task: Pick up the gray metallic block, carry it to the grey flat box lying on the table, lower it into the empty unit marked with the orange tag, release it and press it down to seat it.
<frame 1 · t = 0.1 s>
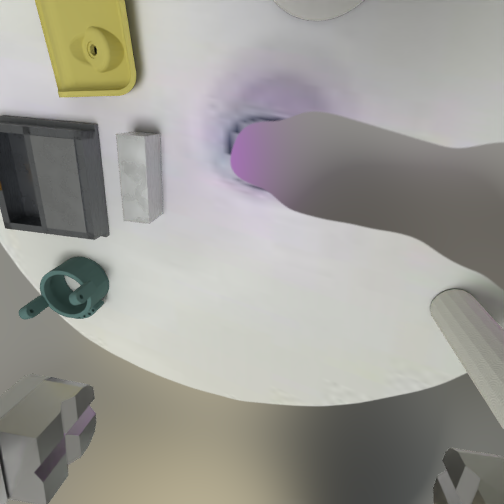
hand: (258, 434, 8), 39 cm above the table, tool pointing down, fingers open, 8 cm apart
plastic component: (93, 8, 39), on the table
grey flat box: (58, 178, 48), on the table
gray metallic block: (150, 174, 46), on the table
paper towel roll: (450, 308, 48), on the table
bracket: (87, 281, 55), on the table
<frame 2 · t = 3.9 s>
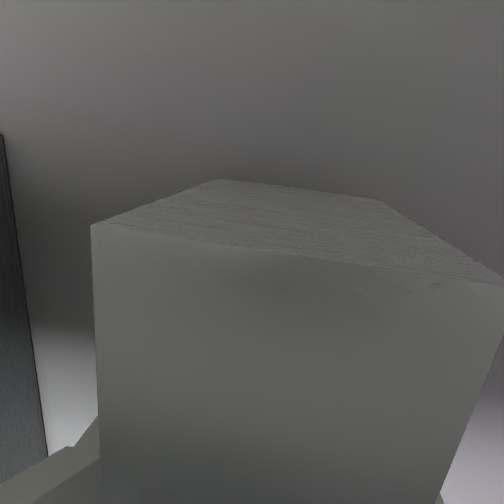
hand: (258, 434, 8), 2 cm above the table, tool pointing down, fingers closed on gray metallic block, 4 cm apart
gray metallic block: (265, 385, 9), on the table, touching gripper
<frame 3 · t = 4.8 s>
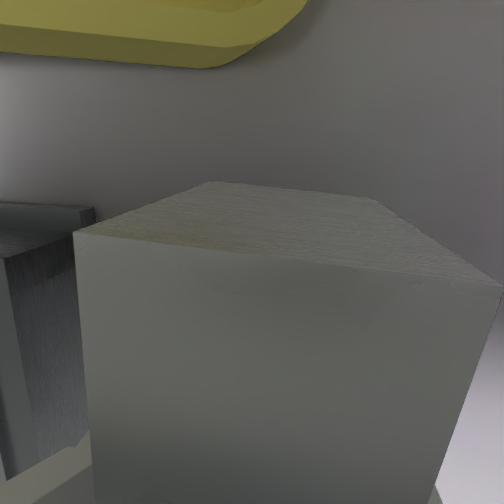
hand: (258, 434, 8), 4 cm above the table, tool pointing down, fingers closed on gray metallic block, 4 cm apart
gray metallic block: (265, 386, 9), point 3 cm above the table, touching gripper
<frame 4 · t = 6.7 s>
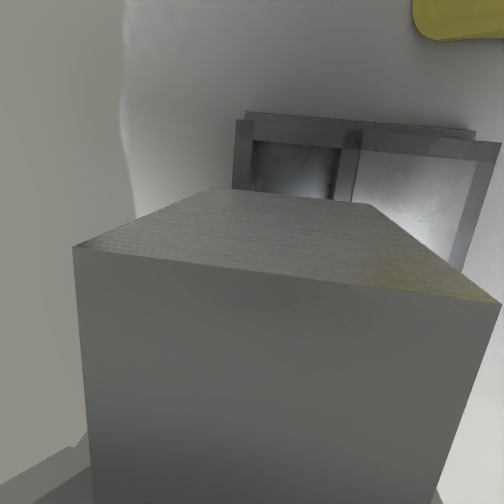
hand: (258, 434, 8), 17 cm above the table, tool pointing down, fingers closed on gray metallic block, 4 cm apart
grey flat box: (334, 240, 24), on the table
gray metallic block: (265, 392, 9), point 16 cm above the table, touching gripper
when the fingers open (4 cm above the table, at t = 9.2 s): gray metallic block drops 2 cm, resting on grey flat box.
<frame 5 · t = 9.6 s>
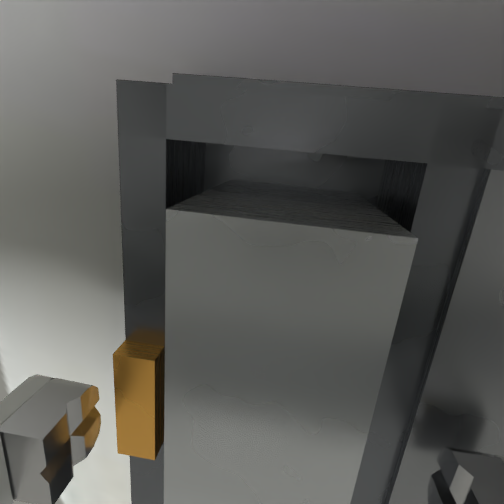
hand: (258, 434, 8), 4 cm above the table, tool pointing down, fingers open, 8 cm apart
grey flat box: (370, 347, 11), on the table
gray metallic block: (271, 349, 11), point 1 cm above the table, touching grey flat box
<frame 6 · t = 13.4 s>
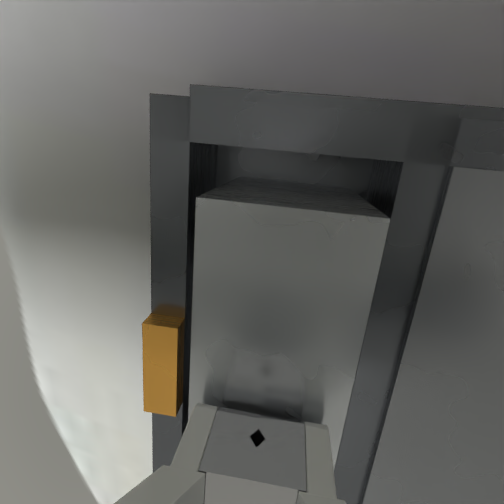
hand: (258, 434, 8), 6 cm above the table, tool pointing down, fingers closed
grey flat box: (363, 326, 13), on the table
gray metallic block: (274, 328, 12), point 1 cm above the table, touching grey flat box
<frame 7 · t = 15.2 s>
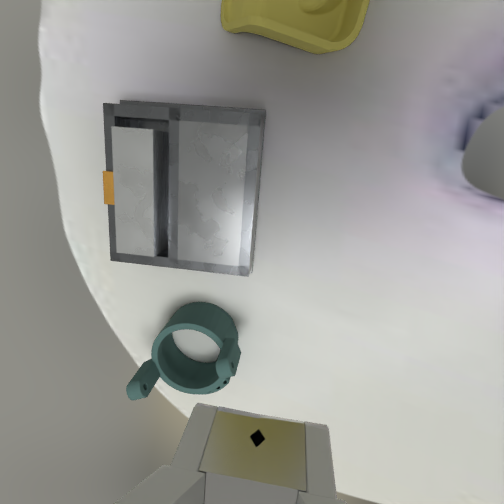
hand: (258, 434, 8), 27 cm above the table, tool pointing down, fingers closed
grey flat box: (191, 190, 34), on the table
gray metallic block: (156, 189, 33), point 1 cm above the table, touching grey flat box
bracket: (205, 336, 39), on the table
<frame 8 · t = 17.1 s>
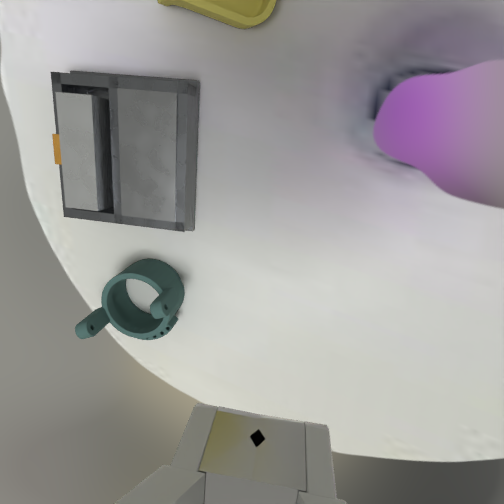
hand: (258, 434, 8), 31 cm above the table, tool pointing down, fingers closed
grey flat box: (137, 154, 37), on the table
gray metallic block: (105, 153, 37), point 1 cm above the table, touching grey flat box
bracket: (155, 291, 43), on the table
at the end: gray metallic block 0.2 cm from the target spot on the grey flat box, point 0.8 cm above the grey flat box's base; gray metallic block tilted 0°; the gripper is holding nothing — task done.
